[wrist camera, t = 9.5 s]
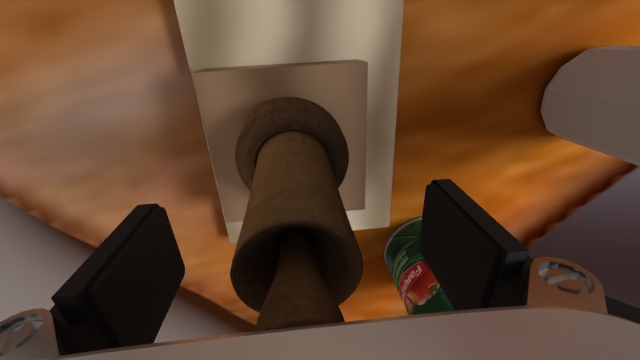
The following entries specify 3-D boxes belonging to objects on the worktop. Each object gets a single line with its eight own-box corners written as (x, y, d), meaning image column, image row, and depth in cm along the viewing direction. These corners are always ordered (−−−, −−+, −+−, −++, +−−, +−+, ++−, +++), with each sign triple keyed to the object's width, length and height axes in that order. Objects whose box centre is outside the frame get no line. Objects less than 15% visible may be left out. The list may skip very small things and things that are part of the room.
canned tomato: (373, 234, 27) (421, 342, 18) (452, 202, 27) (548, 297, 17) (395, 288, 31) (446, 404, 21) (466, 262, 30) (553, 368, 20)
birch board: (400, -49, 18) (407, -54, 17) (385, 219, 27) (389, 226, 26) (170, -40, 17) (162, -46, 16) (232, 234, 26) (230, 243, 25)
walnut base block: (357, 59, 19) (367, 62, 17) (356, 190, 24) (365, 209, 21) (205, 68, 19) (191, 73, 16) (233, 201, 23) (226, 222, 20)
